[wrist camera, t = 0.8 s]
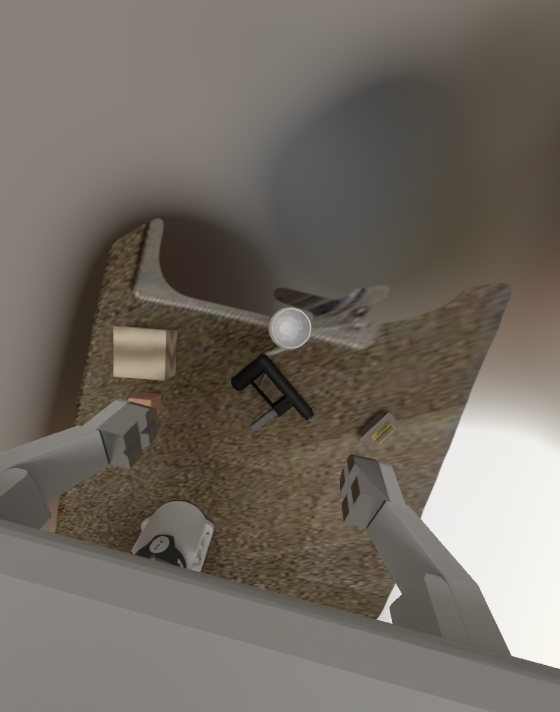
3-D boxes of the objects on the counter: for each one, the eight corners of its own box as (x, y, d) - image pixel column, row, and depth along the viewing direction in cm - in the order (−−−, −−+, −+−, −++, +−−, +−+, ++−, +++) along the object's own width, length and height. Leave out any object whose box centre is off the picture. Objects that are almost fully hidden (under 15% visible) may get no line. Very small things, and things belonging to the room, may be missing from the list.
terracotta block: (160, 413, 57) (150, 421, 52) (140, 411, 56) (127, 419, 51) (161, 393, 56) (151, 400, 51) (141, 391, 56) (128, 398, 51)
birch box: (176, 374, 56) (164, 380, 50) (130, 371, 55) (113, 376, 49) (177, 330, 55) (166, 330, 49) (131, 326, 54) (113, 326, 48)
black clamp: (268, 450, 57) (318, 412, 55) (215, 391, 55) (266, 350, 53) (269, 443, 60) (316, 407, 58) (219, 387, 58) (267, 348, 56)
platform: (411, 415, 60) (428, 426, 53) (361, 461, 61) (372, 477, 54) (381, 384, 58) (395, 391, 52) (331, 431, 59) (338, 444, 53)
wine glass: (267, 341, 55) (265, 349, 35) (271, 312, 55) (270, 301, 34) (296, 345, 56) (311, 354, 35) (300, 315, 55) (317, 307, 34)
